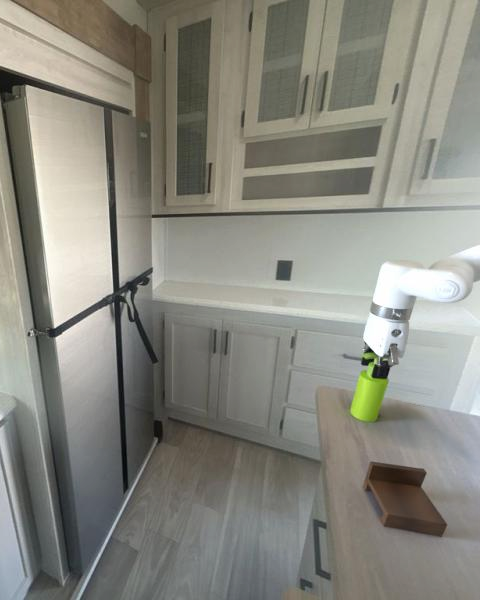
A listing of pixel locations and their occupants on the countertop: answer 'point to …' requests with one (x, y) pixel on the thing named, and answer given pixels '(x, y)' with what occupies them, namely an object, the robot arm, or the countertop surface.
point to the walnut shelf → (403, 498)
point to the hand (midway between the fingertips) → (373, 371)
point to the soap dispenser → (368, 393)
